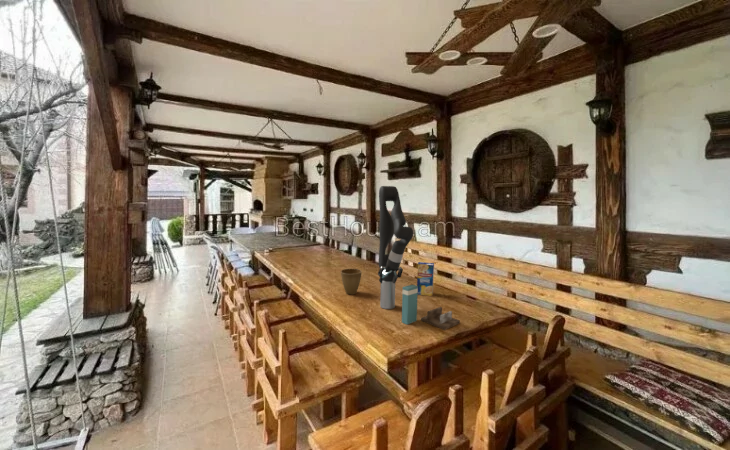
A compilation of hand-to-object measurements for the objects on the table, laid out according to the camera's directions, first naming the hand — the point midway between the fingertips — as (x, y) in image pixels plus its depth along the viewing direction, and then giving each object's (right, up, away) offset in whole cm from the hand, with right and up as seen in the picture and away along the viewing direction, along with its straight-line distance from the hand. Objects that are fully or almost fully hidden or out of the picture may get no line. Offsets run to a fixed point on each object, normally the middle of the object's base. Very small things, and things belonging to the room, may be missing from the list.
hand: (387, 282), depth 184 cm
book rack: (+29, -20, -9) cm, 36 cm away
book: (+12, -20, -9) cm, 25 cm away
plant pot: (-23, -15, +40) cm, 48 cm away
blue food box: (+30, -16, +41) cm, 53 cm away
